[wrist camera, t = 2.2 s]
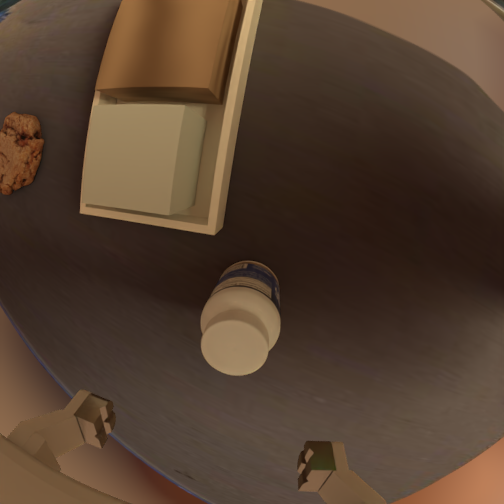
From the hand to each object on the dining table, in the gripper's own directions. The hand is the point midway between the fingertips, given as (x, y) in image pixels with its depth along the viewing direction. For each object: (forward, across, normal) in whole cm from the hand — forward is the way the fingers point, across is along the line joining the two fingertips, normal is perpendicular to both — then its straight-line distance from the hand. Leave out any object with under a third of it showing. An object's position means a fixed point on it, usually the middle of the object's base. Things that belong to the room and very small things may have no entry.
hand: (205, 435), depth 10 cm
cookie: (+17, +28, -10) cm, 35 cm away
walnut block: (+16, +8, -20) cm, 27 cm away
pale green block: (+16, +8, -10) cm, 21 cm away
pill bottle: (+16, -1, 0) cm, 17 cm away
